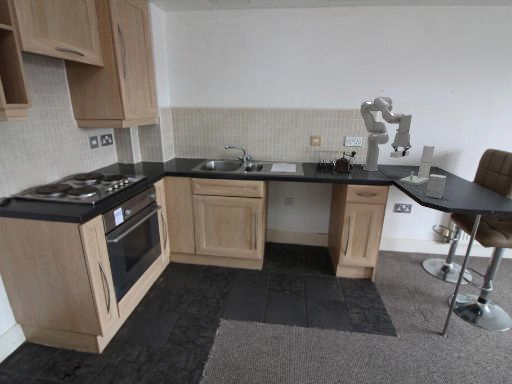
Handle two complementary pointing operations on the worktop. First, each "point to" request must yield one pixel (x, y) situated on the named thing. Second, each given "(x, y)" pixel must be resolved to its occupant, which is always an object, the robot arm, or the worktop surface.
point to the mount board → (414, 179)
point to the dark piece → (343, 163)
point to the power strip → (398, 154)
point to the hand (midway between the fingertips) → (399, 155)
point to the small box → (436, 186)
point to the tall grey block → (426, 160)
